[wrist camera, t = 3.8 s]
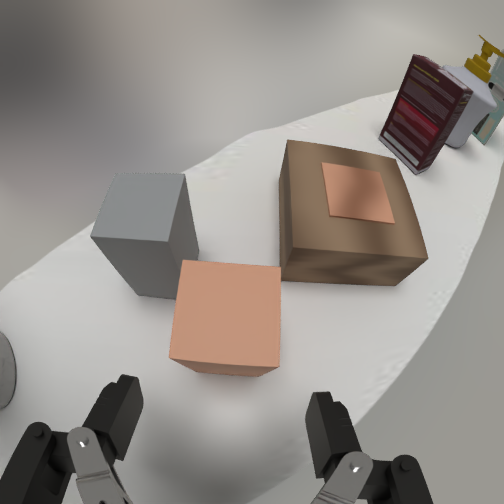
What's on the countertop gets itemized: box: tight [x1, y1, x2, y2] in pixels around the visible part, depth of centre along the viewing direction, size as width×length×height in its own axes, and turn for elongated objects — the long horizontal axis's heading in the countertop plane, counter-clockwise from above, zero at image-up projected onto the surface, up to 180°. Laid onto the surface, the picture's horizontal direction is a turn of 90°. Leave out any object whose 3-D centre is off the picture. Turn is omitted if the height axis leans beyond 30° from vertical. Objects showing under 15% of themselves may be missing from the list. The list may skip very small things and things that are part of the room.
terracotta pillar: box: [169, 260, 281, 377], centre depth 17 cm, size 5×5×10 cm
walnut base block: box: [279, 140, 428, 286], centre depth 25 cm, size 12×12×6 cm
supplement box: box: [378, 54, 474, 174], centre depth 29 cm, size 9×5×16 cm, turn 31°
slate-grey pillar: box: [90, 173, 199, 300], centre depth 20 cm, size 5×5×10 cm
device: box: [472, 49, 504, 145], centre depth 35 cm, size 16×8×30 cm, turn 127°
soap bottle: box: [442, 35, 504, 147], centre depth 31 cm, size 13×13×25 cm
